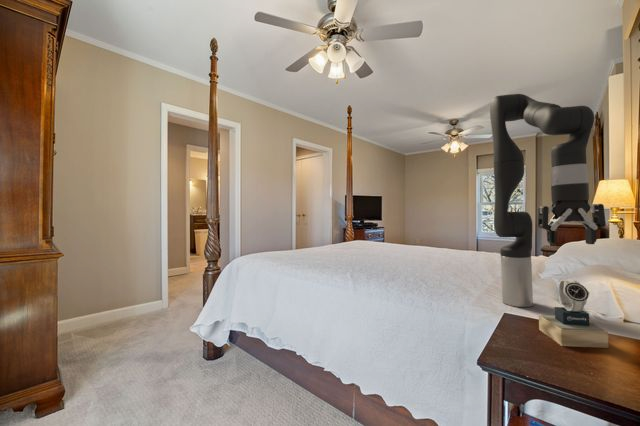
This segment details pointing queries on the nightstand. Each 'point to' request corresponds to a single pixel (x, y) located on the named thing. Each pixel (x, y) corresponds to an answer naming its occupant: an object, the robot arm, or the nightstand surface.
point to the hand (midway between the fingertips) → (571, 244)
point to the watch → (572, 303)
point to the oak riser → (573, 333)
